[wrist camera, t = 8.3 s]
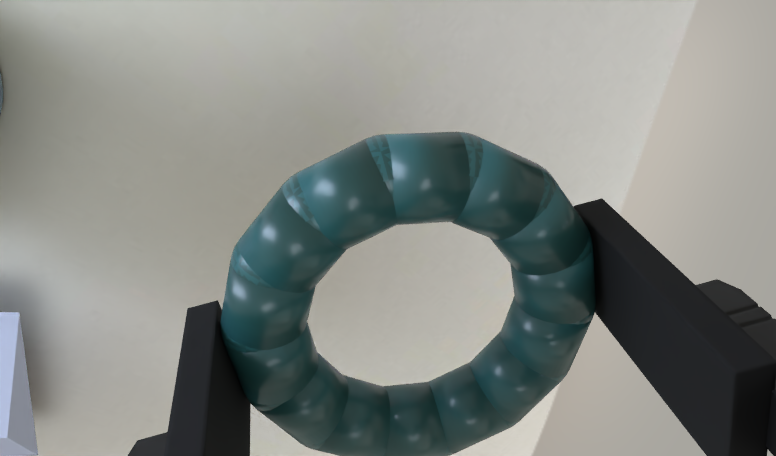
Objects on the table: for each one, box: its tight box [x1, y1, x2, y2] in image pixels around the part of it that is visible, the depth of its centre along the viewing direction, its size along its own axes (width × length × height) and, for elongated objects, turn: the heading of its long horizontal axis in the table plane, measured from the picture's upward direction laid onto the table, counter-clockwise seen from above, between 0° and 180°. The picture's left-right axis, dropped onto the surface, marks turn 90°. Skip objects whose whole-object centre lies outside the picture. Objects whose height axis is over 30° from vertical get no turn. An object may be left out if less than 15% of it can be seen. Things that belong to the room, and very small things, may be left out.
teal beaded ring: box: [220, 132, 596, 456], centre depth 16 cm, size 9×9×2 cm
